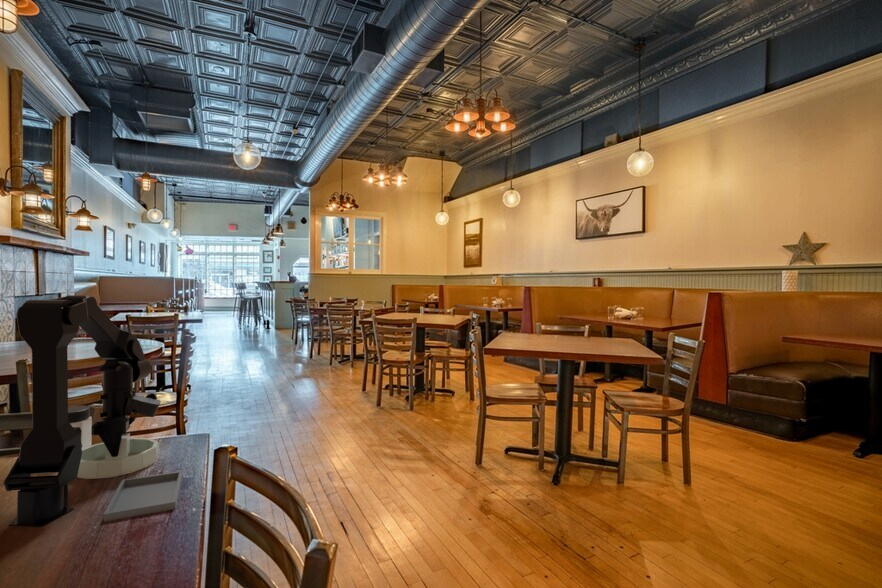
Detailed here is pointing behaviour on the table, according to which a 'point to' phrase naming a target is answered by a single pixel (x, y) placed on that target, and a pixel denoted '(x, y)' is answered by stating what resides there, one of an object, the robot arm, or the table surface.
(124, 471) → the bowl
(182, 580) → the table surface
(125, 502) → the parts tray
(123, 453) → the block
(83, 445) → the lidded white canister
